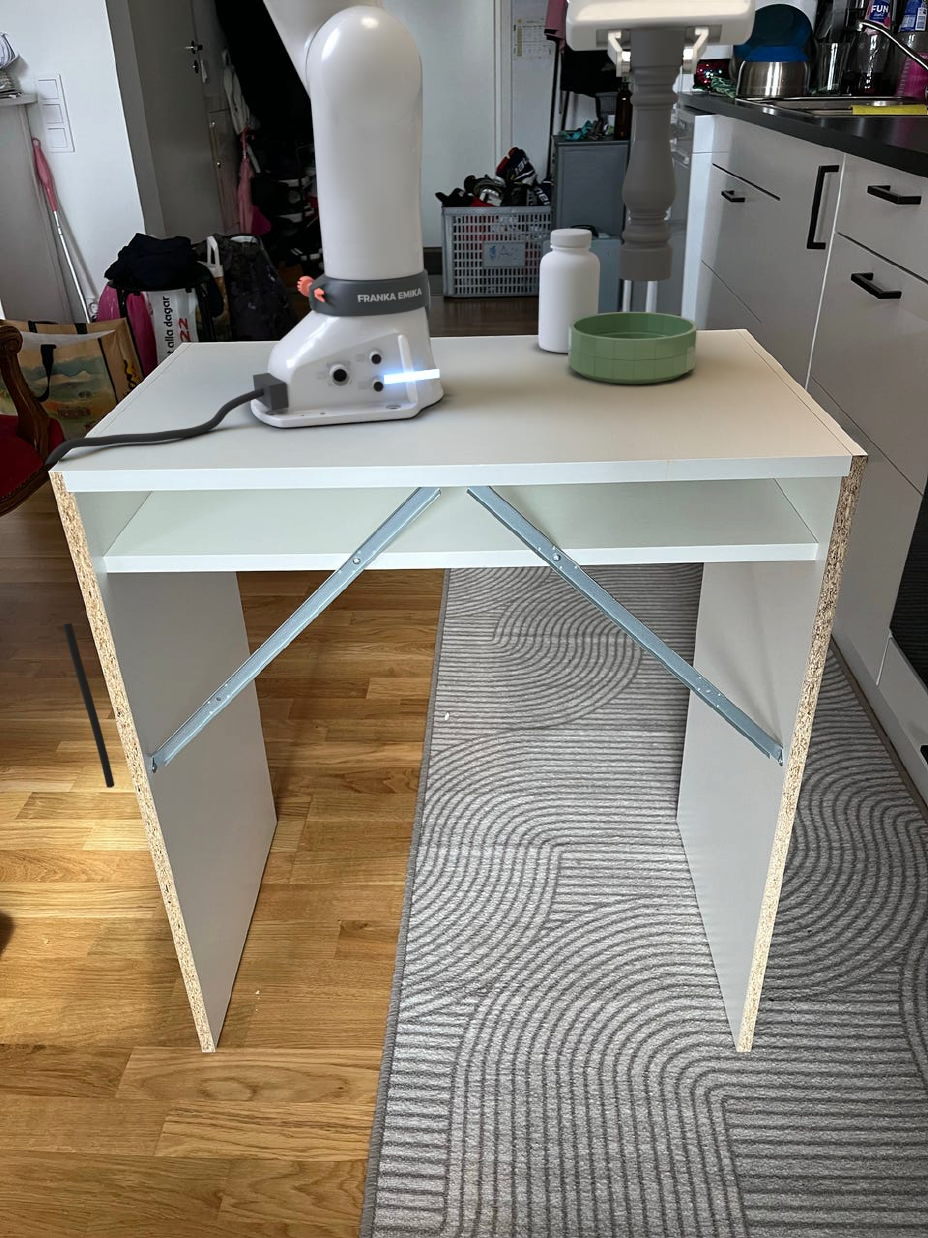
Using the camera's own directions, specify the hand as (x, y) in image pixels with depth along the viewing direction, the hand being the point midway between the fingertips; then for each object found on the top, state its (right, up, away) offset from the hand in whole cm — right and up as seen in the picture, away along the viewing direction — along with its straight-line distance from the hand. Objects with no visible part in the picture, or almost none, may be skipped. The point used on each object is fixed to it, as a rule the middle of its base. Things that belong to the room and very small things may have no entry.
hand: (656, 70), depth 105 cm
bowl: (0, -28, +18) cm, 33 cm away
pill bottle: (-7, -22, +29) cm, 37 cm away
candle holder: (+1, -19, +11) cm, 22 cm away
